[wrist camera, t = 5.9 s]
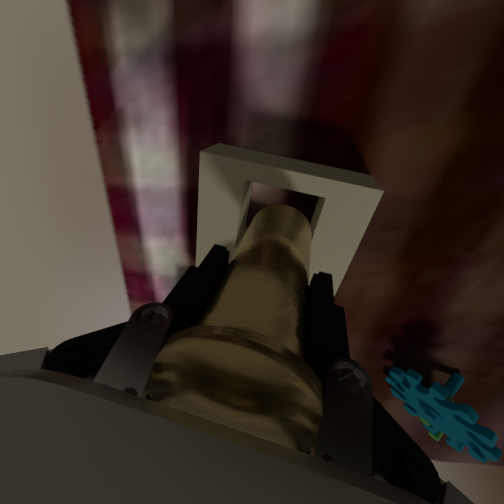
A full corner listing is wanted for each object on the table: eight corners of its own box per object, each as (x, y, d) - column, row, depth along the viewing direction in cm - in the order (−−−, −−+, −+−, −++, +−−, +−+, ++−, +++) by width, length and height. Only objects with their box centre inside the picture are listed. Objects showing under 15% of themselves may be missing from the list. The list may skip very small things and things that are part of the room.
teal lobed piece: (381, 359, 26) (509, 449, 18) (412, 323, 28) (541, 391, 20) (383, 403, 32) (479, 484, 24) (409, 371, 34) (506, 437, 26)
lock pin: (247, 186, 15) (134, 326, 6) (333, 206, 14) (360, 396, 5) (237, 255, 18) (151, 422, 9) (307, 274, 17) (296, 473, 8)
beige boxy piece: (219, 142, 19) (170, 163, 13) (370, 175, 18) (404, 216, 12) (208, 277, 27) (175, 334, 20) (315, 305, 26) (316, 375, 19)
